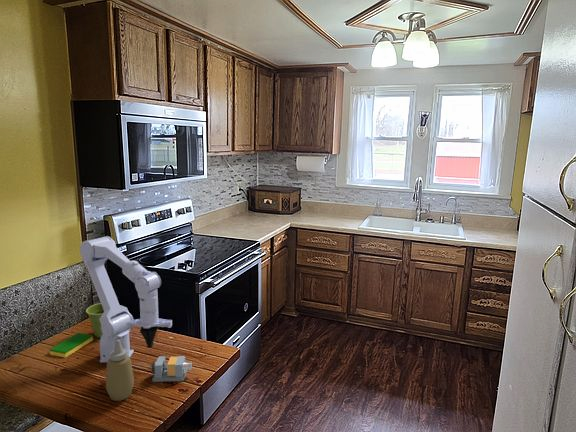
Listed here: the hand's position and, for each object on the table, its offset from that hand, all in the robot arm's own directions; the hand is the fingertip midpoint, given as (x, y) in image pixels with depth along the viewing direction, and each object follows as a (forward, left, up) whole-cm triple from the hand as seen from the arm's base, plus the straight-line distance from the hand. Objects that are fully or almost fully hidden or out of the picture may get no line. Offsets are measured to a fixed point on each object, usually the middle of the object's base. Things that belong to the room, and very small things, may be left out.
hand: (150, 346), depth 135 cm
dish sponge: (-33, +16, -9) cm, 38 cm away
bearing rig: (+8, -5, -8) cm, 12 cm away
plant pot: (-25, +26, -8) cm, 37 cm away
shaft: (+8, -5, -6) cm, 12 cm away
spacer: (+9, -5, -7) cm, 12 cm away
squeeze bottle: (-5, -15, -8) cm, 18 cm away
